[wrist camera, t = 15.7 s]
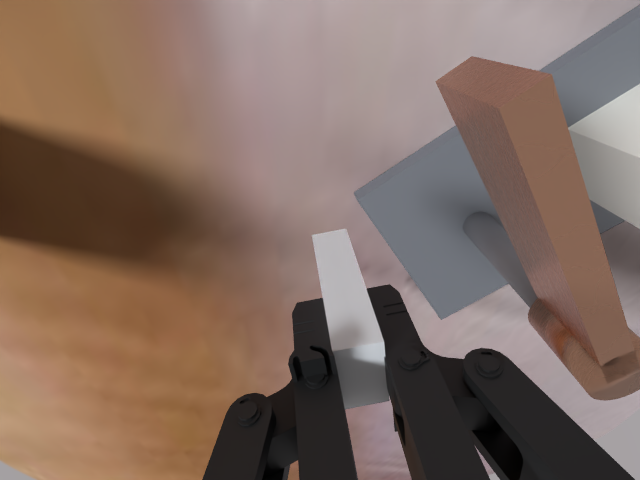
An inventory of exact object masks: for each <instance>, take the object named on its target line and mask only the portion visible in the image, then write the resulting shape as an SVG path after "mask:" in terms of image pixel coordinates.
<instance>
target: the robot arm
mask: <svg viewBox="0 0 640 480" xmlns="http://www.w3.org/2000/svg"><path fill="white" fill-rule="evenodd" d="M312 238H313V244H314V250H315V256H316V261H317V267H318V273H319V279H320V284H321V290H322V296H323V298H320V299H314V300H309V301H304V302H299V303H297V304H296V306H295V308H294V310H293V313H292V319H293V333H294V351H293V353H292V354H291V356H290V358H289V363H288V365H289V368H290V372H291V375H292V380H291V381H290V383H289V384H288V385H287V386H285V387H284V388H283V389H281V390H280V391H278V392H276V393H274V394H272V395H270V396H268V397H265V396H264V395H263V394H258V393H251V394H246V395H244V396H242V397H240V398H238V399H237V400H236V401H235V402H234V403H233V404H232V405H231V406H230V408H229V410H228V411H227V413H226V416H225V419H224V421H223V424H222V427H221V430H220V432H219V435H218V438H217V441H216V443H215V446H214V449H213V452H212V455H211V457H210V460H209V463H208V466H207V468H206V471H205V474H204V477H203V479H202V480H287V479H288V473H289V468H290V464H292V463H293V462H295V461H297V460H298V463H299V480H358V478H357V472H356V467H355V461H354V456H353V450H352V445H351V440H350V434H349V429H348V423H347V418H346V413H345V409H349V408H355V407H360V406H365V405H370V404H375V403H381V402H386V401H389V396H390V400H391V403H392V406H393V416H394V428H395V432H396V431H398V434H399V437H400V441H401V444H402V448H403V451H404V454H405V458H406V461H407V465H408V468H409V471H410V475H411V478H412V480H490V478H489V476H488V474H487V472H486V469H485V467H484V465H483V463H482V461H481V459H480V456H479V454H478V452H477V450H476V448H477V449H478V450H479V452H480V453H481V454H482V456H483V457H484V458H485V460H486V461H487V463H488V464H489V465H490V467H491V468H492V469H493V471H494V472H495V473H496V475H497V476H498V477H499V478H500V480H635V479H634V478H633V477H632V476H631V475H630V474H628V472H626V471H625V470H624V469H623V468H622V467H621V466H620V465H619V464H618V463H617V462H616V461H615V460H614V459H613V458H612V457H611V456H610V455H609V454H608V453H607V452H606V451H605V450H603V449H602V448H601V447H600V446H599V445H598V444H597V443H596V442H595V441H594V440H593V439H592V438H591V437H590V436H589V435H588V434H587V433H586V432H585V431H584V430H583V429H582V428H581V427H580V426H578V425H577V424H576V423H575V422H574V421H573V420H572V419H571V418H570V417H569V416H568V415H567V414H566V413H565V412H564V411H563V410H562V409H561V408H560V407H559V406H558V405H557V404H556V403H554V402H553V401H552V400H551V399H550V398H549V397H548V396H547V395H546V394H545V393H544V392H543V391H542V390H541V389H540V388H539V387H538V386H537V385H536V384H535V383H534V382H533V381H532V380H530V379H529V378H528V377H527V376H526V375H525V374H524V373H523V372H522V371H521V370H520V369H519V368H518V367H517V366H516V365H515V364H514V363H513V362H512V361H511V360H510V359H509V358H507V357H506V356H505V355H503V354H502V353H500V352H498V351H495V350H492V349H485V348H480V349H475V350H472V351H471V352H469V353H468V354H466V356H465V358H464V359H457V358H447V357H441V356H439V355H436V354H434V353H432V352H430V351H429V350H428V349H427V348H426V347H425V346H424V345H423V344H422V342H421V340H420V338H419V336H418V333H417V331H416V329H415V327H414V324H413V322H412V320H411V318H410V316H409V313H408V312H407V309H406V307H405V304H404V302H403V300H402V298H401V295H400V293H399V292H398V291H397V290H396V289H395V288H393V287H392V286H391V285H390V284H389V285H384V286H378V287H373V288H368V289H366V286H365V283H364V280H363V277H362V274H361V271H360V269H359V266H358V263H357V260H356V257H355V254H354V251H353V248H352V245H351V242H350V239H349V236H348V233H347V230H346V229H341V230H336V231H331V232H325V233H320V234H315V235H312ZM474 445H475V446H476V448H475V446H474Z"/></svg>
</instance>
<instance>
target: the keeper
mask: <svg viewBox="0 0 640 480" xmlns="http://www.w3.org/2000/svg"><path fill="white" fill-rule="evenodd" d="M436 84H437V86H438V88H439V90H440V92H441V94H442V96H443V98H444V101H445V103H446V105H447V107H448V109H449V111H450V113H451V115H452V118H453V120H454V122H455V124H456V126H457V128H458V130H459V132H460V135H461V137H462V139H463V141H464V143H465V145H466V147H467V150H468V152H469V154H470V156H471V158H472V160H473V162H474V164H475V167H476V169H477V171H478V173H479V175H480V177H481V179H482V181H483V184H484V186H485V188H486V190H487V192H488V194H489V196H490V198H491V201H492V203H493V205H494V207H495V209H496V211H497V213H498V215H499V218H500V220H501V222H502V224H503V226H504V228H505V230H506V232H507V235H508V237H509V239H510V241H511V243H512V245H513V247H514V249H515V252H516V254H517V256H518V258H519V260H520V262H521V264H522V266H523V269H524V271H525V273H526V275H527V277H528V279H529V281H530V283H531V286H532V288H533V290H534V292H535V294H536V296H537V299H536V300H535V302H534V303H533V304H532V306H531V308H530V310H529V313H528V320H529V322H530V324H531V325H532V326H533V328H534V329H535V330H536V331H537V333H538V334H539V335H540V336H541V337H542V339H543V340H544V341H545V342H546V343H547V345H548V346H549V347H550V348H551V349H552V351H553V352H554V353H555V354H556V356H557V357H558V358H559V359H560V360H561V362H562V363H563V364H564V365H565V366H566V368H567V369H568V370H569V371H570V372H571V374H572V375H573V376H574V377H575V379H576V380H577V381H578V382H579V383H580V385H581V386H582V387H583V388H584V389H585V391H586V392H587V393H588V394H589V395H590V396H591V397H592V398H594V399H597V400H613V399H618V398H621V397H624V396H627V395H630V394H632V393H634V392H636V391H638V390H639V389H640V338H639V337H638V336H637V335H636V334H635V333H634V332H633V331H631V330H630V329H629V328H628V326H627V323H626V320H625V316H624V313H623V310H622V306H621V303H620V300H619V296H618V293H617V290H616V286H615V283H614V280H613V276H612V273H611V270H610V266H609V263H608V260H607V256H606V253H605V250H604V246H603V243H602V240H601V236H600V233H599V230H598V226H597V223H596V220H595V216H594V213H593V210H592V206H591V203H590V200H589V196H588V193H587V190H586V186H585V183H584V180H583V176H582V173H581V170H580V166H579V163H578V160H577V156H576V153H575V150H574V146H573V143H572V140H571V136H570V133H569V130H568V126H567V123H566V120H565V116H564V113H563V110H562V106H561V103H560V100H559V96H558V93H557V90H556V86H555V83H554V80H553V76H552V74H549V73H545V72H540V71H536V70H531V69H527V68H522V67H517V66H513V65H508V64H504V63H499V62H495V61H490V60H486V59H481V58H477V57H470V58H469V59H467V60H466V61H464V62H463V63H461V64H460V65H459V66H457V67H456V68H454V69H453V70H451V71H450V72H448V73H447V74H446V75H444V76H443V77H441V78H440V79H438V80H437V81H436Z"/></svg>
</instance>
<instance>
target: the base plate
mask: <svg viewBox="0 0 640 480" xmlns="http://www.w3.org/2000/svg"><path fill="white" fill-rule="evenodd" d="M539 71H540V72H545V73H549V74H552V76H553V80H554V83H555V86H556V90H557V93H558V96H559V100H560V103H561V106H562V110H563V113H564V116H565V120H566V123H567V126H568V127H570V126H571V125H573V124H575V123H576V122H578V121H580V120H581V119H583V118H585V117H586V116H588V115H589V114H591V113H593V112H594V111H596V110H598V109H599V108H601V107H603V106H604V105H606V104H607V103H609V102H611V101H612V100H614V99H616V98H617V97H619V96H621V95H622V94H624V93H626V92H627V91H629V90H630V89H632V88H634V87H635V86H637V85H639V84H640V5H638V6H637V7H635V8H634V9H632V10H631V11H629V12H628V13H626V14H625V15H623V16H622V17H620V18H619V19H617V20H616V21H614V22H612V23H611V24H609V25H608V26H606V27H605V28H603V29H602V30H600V31H599V32H597V33H596V34H594V35H593V36H591V37H590V38H588V39H587V40H585V41H584V42H582V43H581V44H579V45H578V46H576V47H574V48H573V49H571V50H570V51H568V52H567V53H565V54H564V55H562V56H561V57H559V58H558V59H556V60H555V61H553V62H552V63H550V64H549V65H547V66H546V67H544V68H543V69H541V70H539ZM354 194H355V196H356V199H357V201H358V202H359V204H360V205H361V206H362V208H363V209H364V211H365V212H366V214H367V215H368V216H369V218H370V219H371V221H372V222H373V224H374V225H375V226H376V228H377V229H378V231H379V232H380V233H381V235H382V236H383V238H384V239H385V241H386V242H387V243H388V245H389V246H390V248H391V249H392V251H393V252H394V253H395V255H396V256H397V258H398V259H399V261H400V262H401V263H402V265H403V266H404V268H405V269H406V270H407V272H408V273H409V275H410V276H411V278H412V279H413V280H414V282H415V283H416V285H417V286H418V288H419V289H420V290H421V292H422V293H423V295H424V296H425V297H426V299H427V300H428V302H429V303H430V305H431V306H432V307H433V309H434V310H435V312H436V313H437V315H438V316H439V317H440V319H441V320H442V319H444V318H446V317H448V316H449V315H451V314H453V313H455V312H457V311H459V310H461V309H462V308H464V307H466V306H468V305H470V304H472V303H473V302H475V301H477V300H479V299H481V298H483V297H485V296H486V295H488V294H490V293H492V292H494V291H496V290H498V289H499V288H501V287H503V286H505V285H507V284H510V285H511V287H512V288H513V289H514V290H515V291H516V292H517V294H518V295H519V296H520V297H521V298H522V299H523V300H524V302H525V303H526V304H527V305H528V306H529V307H530V308H531V306H532V304H533V303H534V302H535V300H536V299H537V296H536V294H535V292H534V290H533V288H532V286H531V283H530V281H529V279H528V277H527V275H526V273H525V271H524V269H523V266H522V264H521V262H520V260H519V258H518V256H517V254H516V252H515V249H514V247H513V245H512V243H511V241H510V239H509V237H508V235H507V232H506V230H505V228H504V226H503V224H502V222H501V220H500V218H499V215H498V213H497V211H496V209H495V207H494V205H493V203H492V201H491V198H490V196H489V194H488V192H487V190H486V188H485V186H484V184H483V181H482V179H481V177H480V175H479V173H478V171H477V169H476V167H475V164H474V162H473V160H472V158H471V156H470V154H469V152H468V150H467V147H466V145H465V143H464V141H463V139H462V137H461V135H460V132H459V130H458V128H457V126H454V127H453V128H451V129H450V130H448V131H447V132H445V133H444V134H442V135H441V136H439V137H438V138H436V139H435V140H433V141H432V142H430V143H429V144H427V145H425V146H424V147H422V148H421V149H419V150H418V151H416V152H415V153H413V154H412V155H410V156H409V157H407V158H406V159H404V160H403V161H401V162H400V163H398V164H397V165H395V166H394V167H392V168H391V169H389V170H387V171H386V172H384V173H383V174H381V175H380V176H378V177H377V178H375V179H374V180H372V181H371V182H369V183H368V184H366V185H365V186H363V187H362V188H360V189H359V190H357V191H356V192H354ZM589 200H590V199H589ZM590 203H591V206H592V210H593V213H594V216H595V220H596V223H597V226H598V230H599V233H600V234H601V233H603V232H605V231H607V230H609V229H610V228H612V227H614V226H616V225H618V224H620V223H622V222H623V221H625V220H623V219H622V218H620V217H618V216H617V215H615V214H613V213H612V212H610V211H608V210H606V209H605V208H603V207H601V206H600V205H598V204H596V203H595V202H593V201H591V200H590Z"/></svg>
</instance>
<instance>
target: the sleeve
mask: <svg viewBox="0 0 640 480" xmlns="http://www.w3.org/2000/svg"><path fill="white" fill-rule="evenodd" d="M568 130H569V133H570V136H571V140H572V143H573V146H574V150H575V153H576V156H577V160H578V163H579V166H580V170H581V173H582V176H583V180H584V183H585V186H586V190H587V193H588V196H589V199H590V200H591V201H593V202H595V203H596V204H598V205H600V206H601V207H603V208H605V209H606V210H608V211H610V212H612V213H613V214H615V215H617V216H618V217H620V218H622V219H623V220H625V221H627V222H628V223H630V224H632V225H634V226H635V227H637V228H639V229H640V84H639V85H637V86H635V87H634V88H632V89H630V90H629V91H627V92H626V93H624V94H622V95H621V96H619V97H617V98H616V99H614V100H612V101H611V102H609V103H607V104H606V105H604V106H603V107H601V108H599V109H598V110H596V111H594V112H593V113H591V114H589V115H588V116H586V117H585V118H583V119H581V120H580V121H578V122H576V123H575V124H573V125H571V126H570V127H568Z"/></svg>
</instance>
